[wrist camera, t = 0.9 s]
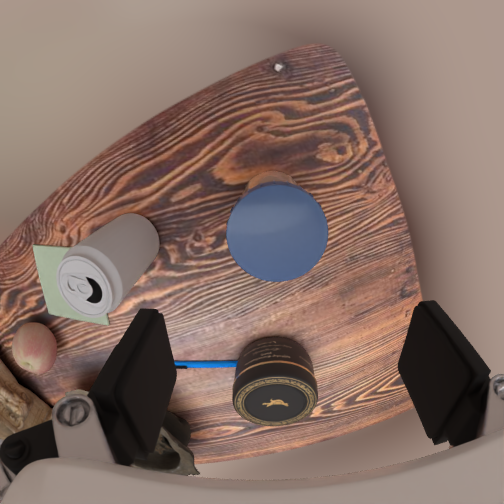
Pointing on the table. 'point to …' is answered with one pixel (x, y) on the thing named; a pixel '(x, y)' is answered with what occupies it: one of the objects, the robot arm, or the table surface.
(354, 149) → the table surface
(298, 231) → the jar lid
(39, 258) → the coaster
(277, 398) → the jar
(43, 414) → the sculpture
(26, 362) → the apple
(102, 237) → the beverage can
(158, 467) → the stone bowl
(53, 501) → the robot arm
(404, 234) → the table surface
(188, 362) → the pen
